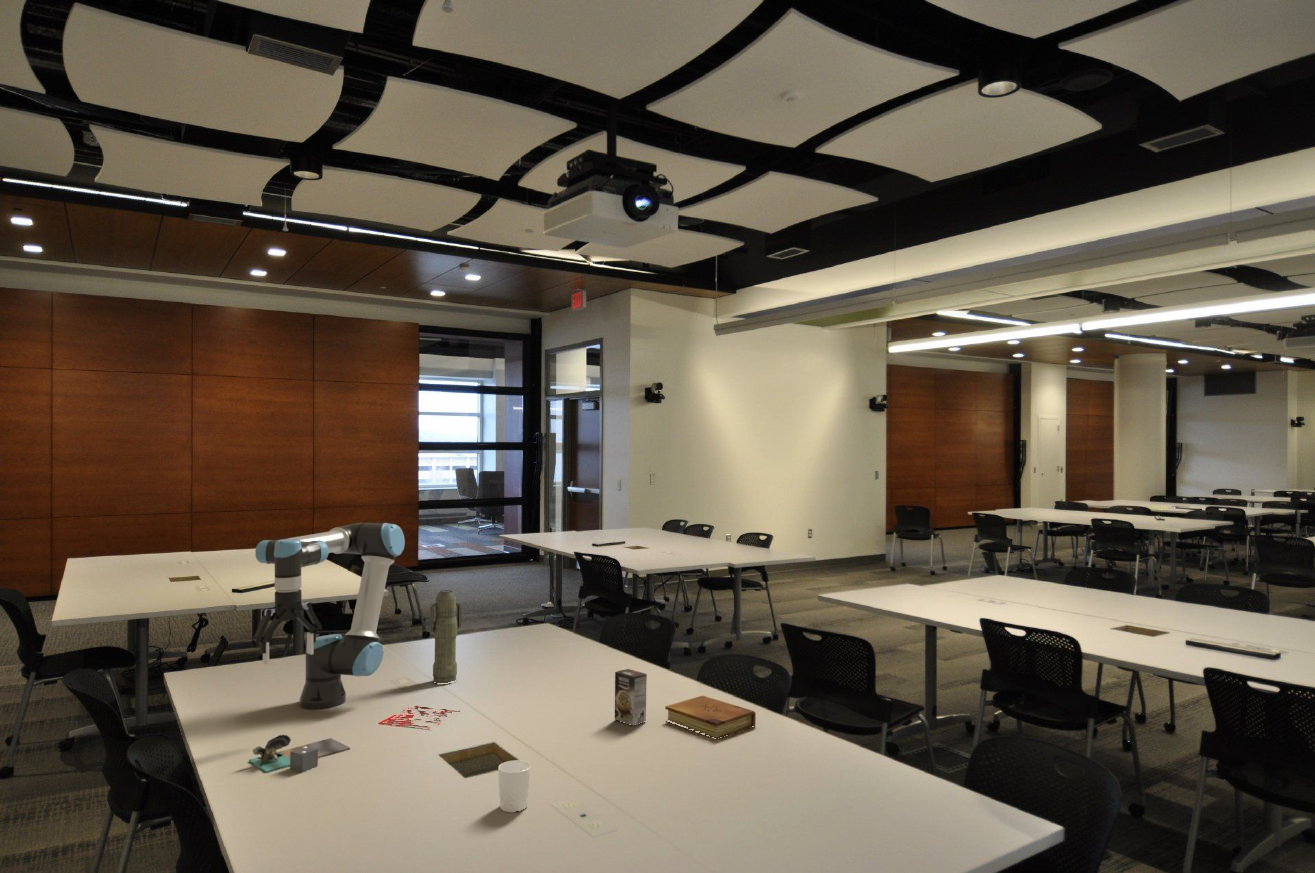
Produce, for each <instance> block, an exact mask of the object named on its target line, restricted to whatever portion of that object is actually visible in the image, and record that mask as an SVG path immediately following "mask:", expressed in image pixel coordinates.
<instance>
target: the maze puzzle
mask: <svg viewBox="0 0 1315 873" xmlns="http://www.w3.org/2000/svg"><path fill="white" fill-rule="evenodd" d="M407 708H408V709H409V707H407ZM402 711H405V709H403V710H402ZM394 716H396V715H395V714H393V715H391V716H389V717H387V718H385V719H383V720H381V721H379V722H378V724H379V725H384V724H388V725H387V726H392V724H394V723H393V722H395V721H394V720H404V719H399V717H400V716H403V715H401V714H400V715H398V717H397V716H396V717H394ZM405 716H406V717H405V718H406V720H404V721H401V722H402V723H399V725H396V726H395V727H400V726H408V725H403V724H409V723H405V722H409V721H407V720H409V719H408V718H413V717H410V716H414V715H407V714H406V715H405ZM393 717H394V718H398V719H394V718H393ZM414 717H415V716H414ZM391 718H392V719H391ZM387 720H393V721H387ZM385 721H386V722H385ZM413 721H414V720H412V722H413ZM383 722H384V723H383ZM387 722H391V723H387ZM410 722H411V721H410Z"/></svg>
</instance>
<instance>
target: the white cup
mask: <svg viewBox="0 0 1315 873" xmlns="http://www.w3.org/2000/svg"><path fill="white" fill-rule="evenodd" d="M497 774H498V792H499V793H498V794H499V808H500V809H501V811H502V810H503V811H502V812H505V811H506V812H505V813H517V812H516V811H519V812H522V811H524V810H526V809H527V808H528V805H529V794H530V784H531V783H530V781H531V780H530V779H531V778H530V777H531V764H530V762H528V761H526V760H520V759H518V760H516V759H515V760H508V761H505V762H502V763H500V764H499V765H498V773H497ZM526 807H527V808H526ZM525 808H526V809H525ZM523 809H524V810H523ZM521 810H522V811H521Z"/></svg>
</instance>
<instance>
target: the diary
mask: <svg viewBox="0 0 1315 873" xmlns="http://www.w3.org/2000/svg"><path fill="white" fill-rule="evenodd" d="M665 710H667V720H670V721H672V722H675V723H677V724H680V725H683V726H686V727H688V729H694V730H693V731H700V732H699V733H705V735H709V736H710V737H714V738H716V739H718V738H720V737H724V736H726V735H730V734H732V733H735V734H737V733H736V732H738V731H741V732H743V731H742V730H744V729H747V730H749V729H748V728H750V727H752V726H755V727H756V720H757V718H756V717H757V716H756V714H757V713H756V712H755V711H754V710H752V709H749V708H746V707H745V708H744V707H742V706H739V705H735V704H732V703H729V702H725V701H723V700H719V699H715V698H712V697H709V696H706V695H699V696H696V697H692V698H690V699H685V700H682V701H678V702H676V703H672V704H669V705H665ZM750 729H751V728H750ZM744 731H745V730H744ZM738 733H739V732H738ZM730 736H731V735H730ZM724 738H725V737H724ZM718 740H719V739H718Z"/></svg>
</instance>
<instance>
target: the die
mask: <svg viewBox="0 0 1315 873" xmlns="http://www.w3.org/2000/svg"><path fill="white" fill-rule="evenodd" d="M318 764H319V758H318V749H317V748H313V747H309V746H304V747H301V748H298V749H296V750H293V751H291V752H290V766H289V769H291V771H294V770H295V771H294V772H298V773H302V772H303V773H306V772H308V771H310V770H312V768H313V769H315V768H317V766H318ZM307 770H308V771H307Z"/></svg>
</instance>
